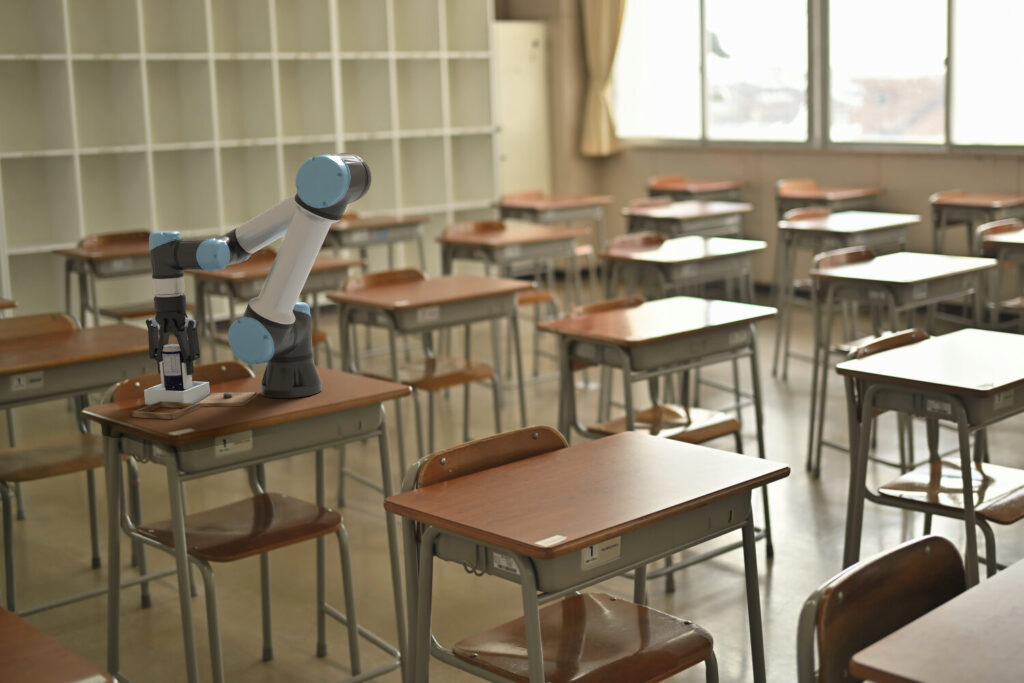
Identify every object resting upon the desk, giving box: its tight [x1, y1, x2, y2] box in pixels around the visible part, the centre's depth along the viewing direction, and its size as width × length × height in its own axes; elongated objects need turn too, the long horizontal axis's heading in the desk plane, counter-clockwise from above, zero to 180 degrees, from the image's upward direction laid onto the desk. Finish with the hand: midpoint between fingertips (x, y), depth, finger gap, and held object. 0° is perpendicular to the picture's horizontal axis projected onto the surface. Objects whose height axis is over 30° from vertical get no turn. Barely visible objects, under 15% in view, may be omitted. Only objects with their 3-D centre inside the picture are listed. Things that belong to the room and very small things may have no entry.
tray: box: [143, 380, 211, 406], centre depth 293 cm, size 11×11×4 cm
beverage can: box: [162, 342, 189, 391], centre depth 292 cm, size 6×6×12 cm
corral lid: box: [198, 391, 257, 407], centre depth 291 cm, size 11×11×2 cm
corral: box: [131, 401, 201, 420], centre depth 281 cm, size 11×11×1 cm
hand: (177, 387), depth 293 cm, fingers closed on beverage can, 6 cm apart
